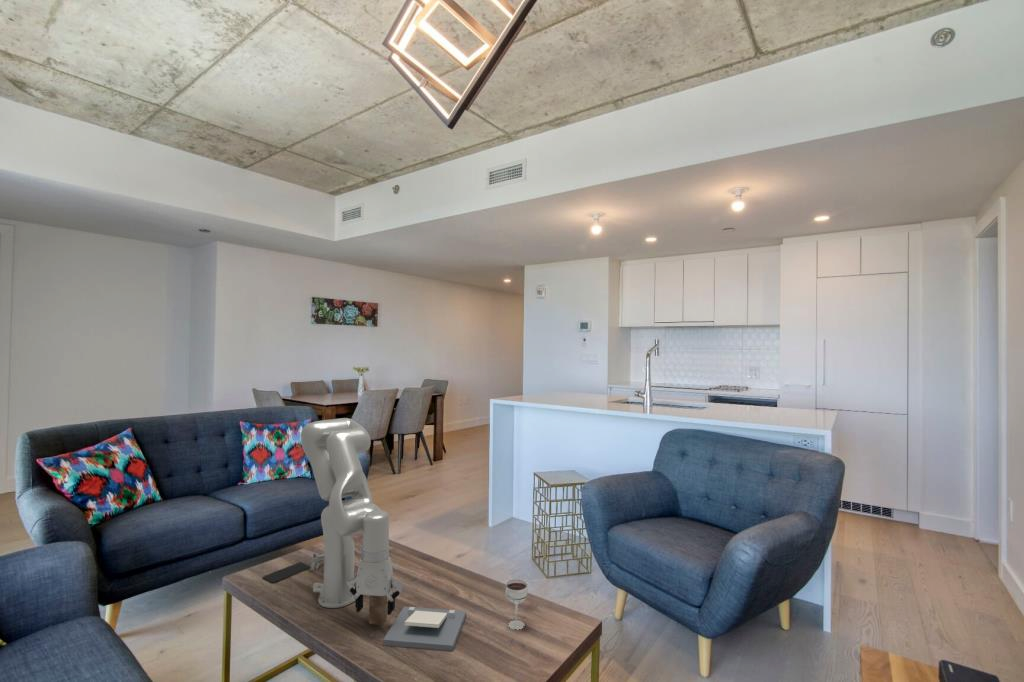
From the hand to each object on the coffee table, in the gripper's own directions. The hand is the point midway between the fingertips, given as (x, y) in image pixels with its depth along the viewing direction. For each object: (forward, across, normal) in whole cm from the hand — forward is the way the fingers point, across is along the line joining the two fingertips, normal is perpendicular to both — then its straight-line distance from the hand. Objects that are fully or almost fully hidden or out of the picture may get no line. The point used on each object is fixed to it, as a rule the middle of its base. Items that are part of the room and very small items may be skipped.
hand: (375, 611), depth 142 cm
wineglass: (+4, +42, +6) cm, 43 cm away
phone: (+5, -45, +27) cm, 53 cm away
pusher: (+4, 0, +2) cm, 5 cm away
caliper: (+5, -33, +38) cm, 51 cm away
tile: (+1, +16, 0) cm, 16 cm away
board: (+4, +16, 0) cm, 17 cm away
